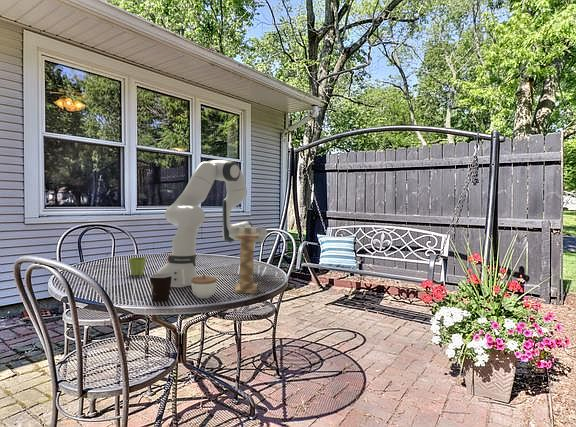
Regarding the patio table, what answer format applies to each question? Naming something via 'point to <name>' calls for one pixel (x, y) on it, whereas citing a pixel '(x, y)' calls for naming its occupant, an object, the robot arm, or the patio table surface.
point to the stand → (246, 263)
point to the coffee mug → (160, 286)
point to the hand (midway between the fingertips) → (248, 226)
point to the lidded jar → (203, 286)
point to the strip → (247, 229)
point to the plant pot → (137, 266)
